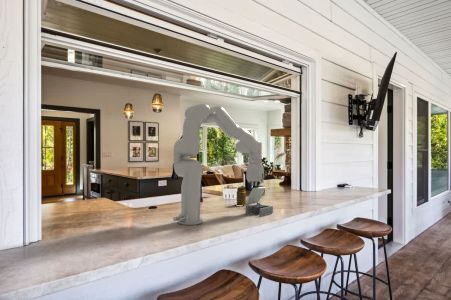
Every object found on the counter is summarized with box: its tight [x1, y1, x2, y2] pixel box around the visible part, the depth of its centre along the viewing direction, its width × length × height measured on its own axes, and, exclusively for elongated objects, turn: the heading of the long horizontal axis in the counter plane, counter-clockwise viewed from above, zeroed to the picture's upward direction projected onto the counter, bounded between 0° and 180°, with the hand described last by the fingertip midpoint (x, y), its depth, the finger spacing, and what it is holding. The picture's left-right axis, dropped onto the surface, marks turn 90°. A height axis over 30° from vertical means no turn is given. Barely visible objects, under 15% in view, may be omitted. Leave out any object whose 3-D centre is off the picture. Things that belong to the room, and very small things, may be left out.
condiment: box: [236, 186, 247, 205], centre depth 196 cm, size 7×8×12 cm
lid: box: [245, 186, 267, 205], centre depth 172 cm, size 12×11×1 cm
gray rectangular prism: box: [251, 204, 266, 216], centre depth 170 cm, size 8×3×5 cm, turn 128°
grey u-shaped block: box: [245, 202, 274, 218], centre depth 170 cm, size 12×11×5 cm
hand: (255, 192), depth 173 cm, fingers closed
